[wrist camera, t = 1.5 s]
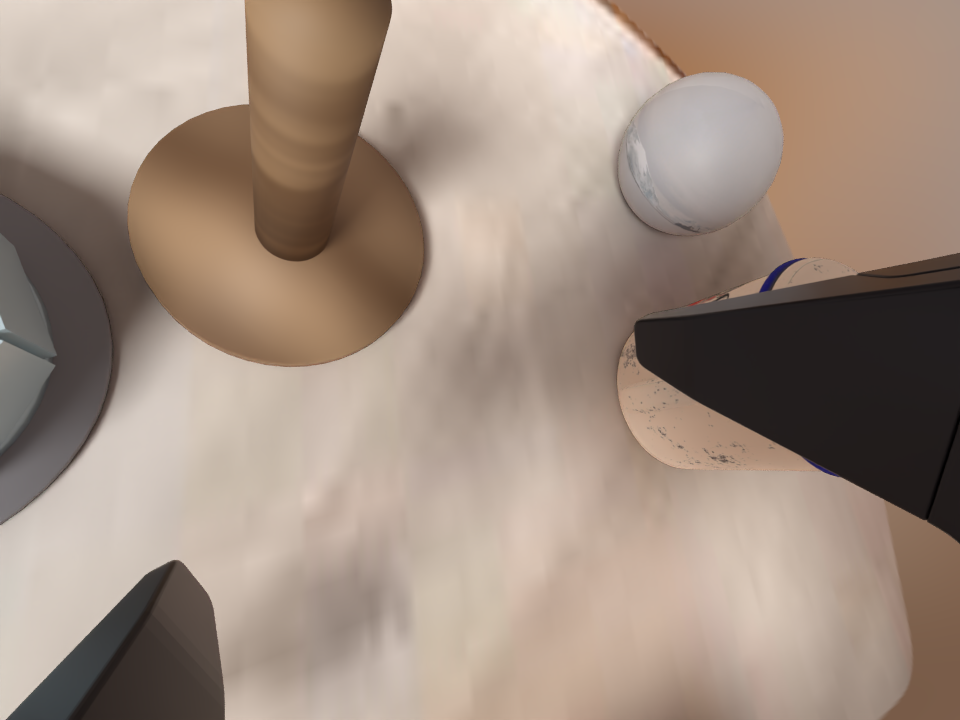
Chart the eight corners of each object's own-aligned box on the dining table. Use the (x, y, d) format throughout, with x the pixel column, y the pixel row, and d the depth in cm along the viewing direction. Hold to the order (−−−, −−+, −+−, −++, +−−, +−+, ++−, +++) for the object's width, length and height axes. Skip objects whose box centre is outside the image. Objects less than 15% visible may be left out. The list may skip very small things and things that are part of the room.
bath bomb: (596, 251, 27) (717, 173, 20) (581, 123, 28) (688, 9, 21) (699, 264, 30) (835, 202, 23) (681, 149, 32) (803, 57, 24)
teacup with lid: (710, 309, 30) (952, 226, 19) (746, 456, 29) (1025, 452, 18) (549, 322, 25) (758, 219, 14) (584, 502, 23) (842, 534, 13)
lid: (361, 409, 20) (473, 347, 9) (67, 288, 17) (-286, -25, 6) (449, 204, 24) (603, -11, 13) (223, 71, 20) (177, -363, 10)
